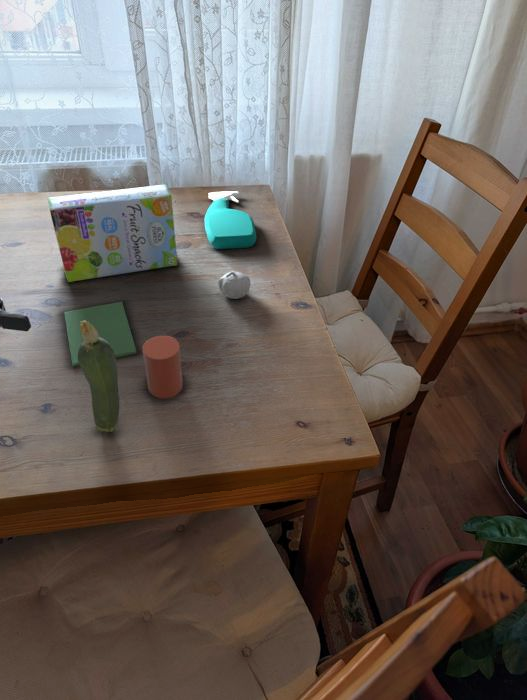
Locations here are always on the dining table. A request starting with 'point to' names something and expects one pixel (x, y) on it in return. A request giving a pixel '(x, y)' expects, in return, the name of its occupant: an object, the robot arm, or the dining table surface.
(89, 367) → the vegetable
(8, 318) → the robot arm
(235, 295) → the garlic
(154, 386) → the orange cylinder block
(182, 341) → the dining table surface
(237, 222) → the spray bottle
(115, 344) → the green mat
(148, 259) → the snack box
